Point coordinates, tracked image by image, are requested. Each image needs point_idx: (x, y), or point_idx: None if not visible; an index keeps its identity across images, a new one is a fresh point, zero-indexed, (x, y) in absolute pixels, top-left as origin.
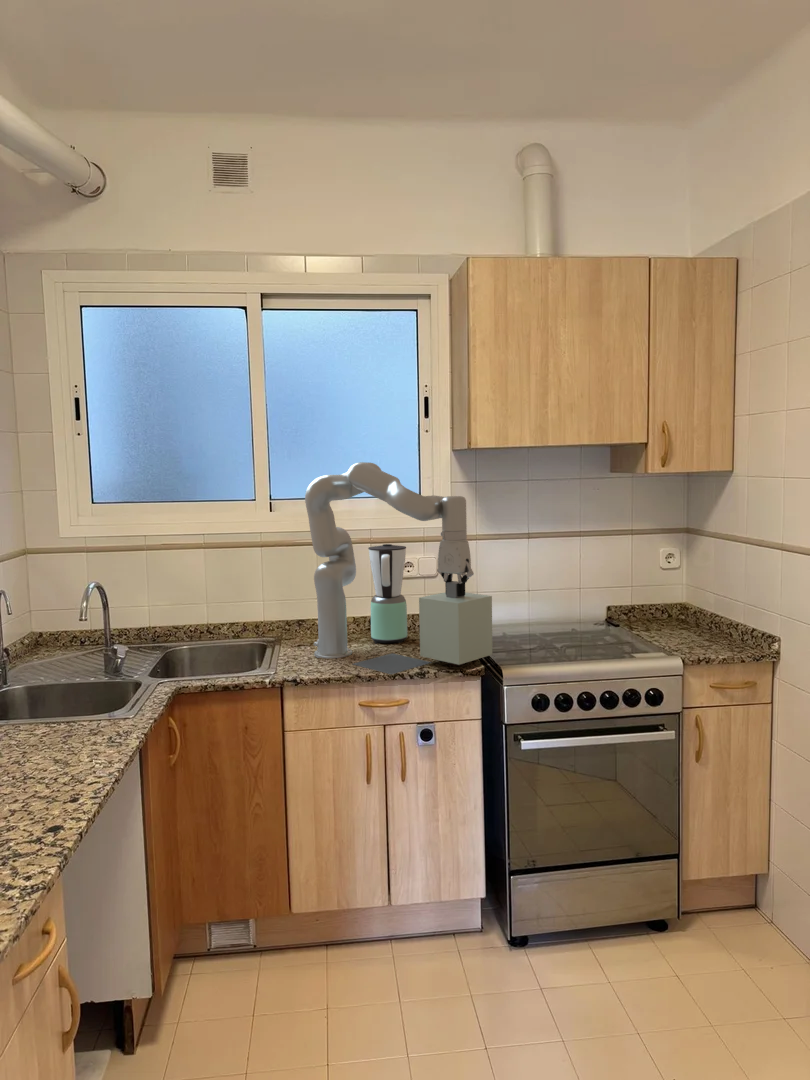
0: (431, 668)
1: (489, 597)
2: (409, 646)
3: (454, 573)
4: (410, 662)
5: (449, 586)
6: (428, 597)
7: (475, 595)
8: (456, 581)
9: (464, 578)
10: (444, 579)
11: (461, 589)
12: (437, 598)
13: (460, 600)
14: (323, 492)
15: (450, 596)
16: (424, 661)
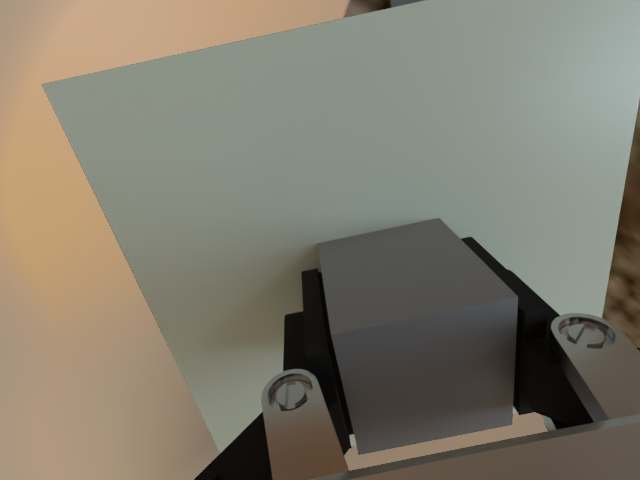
0: None
1: (221, 446)
2: (636, 175)
3: (351, 473)
4: None
5: (435, 283)
6: (571, 56)
7: None
8: (472, 426)
9: (219, 473)
10: (603, 336)
11: (288, 334)
12: (446, 96)
13: (193, 209)
14: None
15: (388, 232)
16: None
